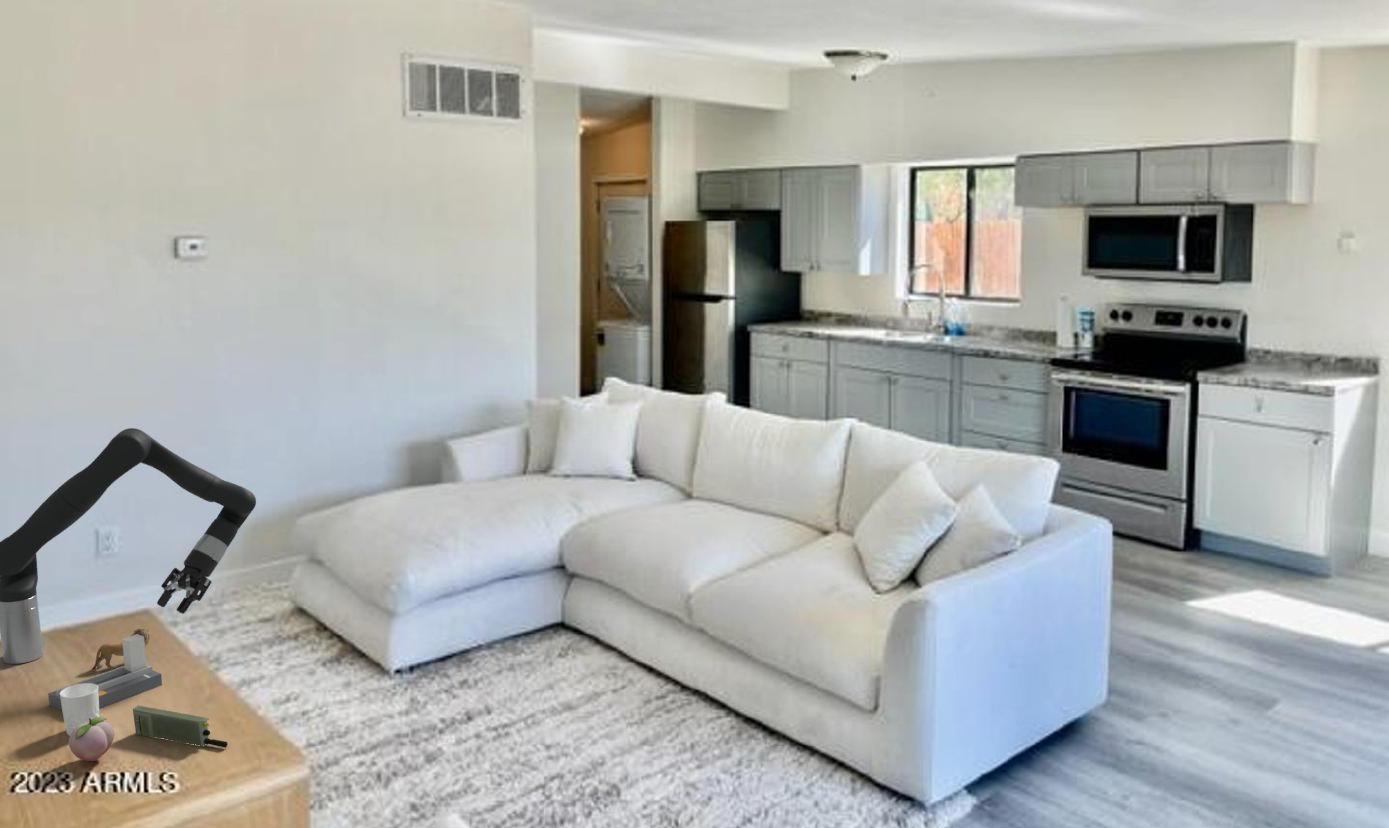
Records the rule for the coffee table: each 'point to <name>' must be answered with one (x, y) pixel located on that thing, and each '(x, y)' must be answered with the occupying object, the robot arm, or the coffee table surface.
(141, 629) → the lion figurine
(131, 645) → the fader knob
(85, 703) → the white cup
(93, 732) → the decorative fruit
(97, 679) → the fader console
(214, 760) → the coffee table surface
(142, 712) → the handheld radio
